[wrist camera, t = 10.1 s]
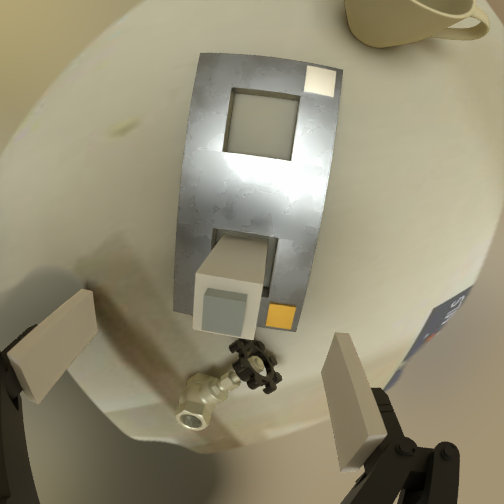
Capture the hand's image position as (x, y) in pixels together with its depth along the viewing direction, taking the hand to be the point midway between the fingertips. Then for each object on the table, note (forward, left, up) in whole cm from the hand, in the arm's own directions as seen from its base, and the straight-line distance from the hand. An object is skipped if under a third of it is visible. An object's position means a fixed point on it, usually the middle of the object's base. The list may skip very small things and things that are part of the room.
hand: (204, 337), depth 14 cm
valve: (0, -14, -14) cm, 20 cm away
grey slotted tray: (+1, +6, -13) cm, 15 cm away
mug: (+11, +25, -14) cm, 30 cm away
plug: (+1, 0, -13) cm, 13 cm away
